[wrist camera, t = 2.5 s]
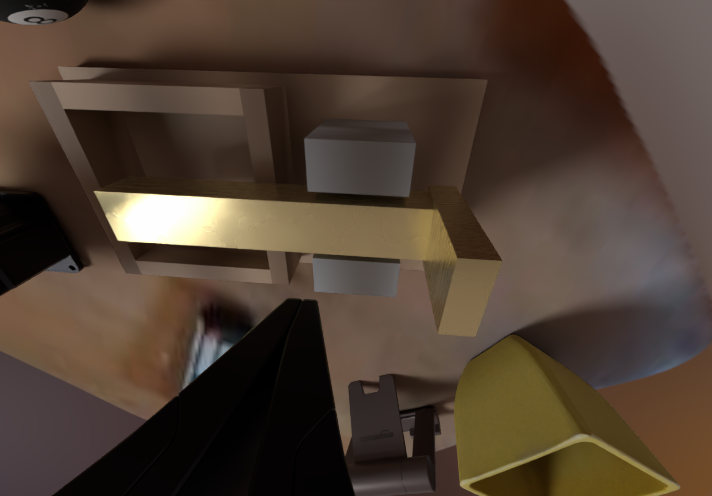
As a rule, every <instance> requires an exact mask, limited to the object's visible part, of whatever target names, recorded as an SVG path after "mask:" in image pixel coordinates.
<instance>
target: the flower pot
mask: <svg viewBox="0 0 712 496" xmlns="http://www.w3.org/2000/svg"><path fill="white" fill-rule="evenodd" d="M454 417H455V431H456V444H457V455H458V466H459V477H460V486H461V487H463V488H464V489H466V490H468V491H471V492H473V493H475V494H477V495H480V496H659V495H662V494H666V493H669V492H672V491H675V490H678V489H680V485H679V484H678V483H677V482H676V481H675V479H674V478H673V477H672V476H671V475H670V474H669V472H668V471H667V470H666V469H665V468H664V467H663V465H662V464H661V463H660V462H659V461H658V459H657V458H656V457H655V456H654V455H653V453H652V452H651V451H650V450H649V449H648V448H647V446H646V445H645V444H644V443H643V442H642V441H641V439H640V438H639V437H638V436H637V435H636V434H635V432H634V431H633V430H632V429H631V428H630V427H629V425H628V424H627V423H626V422H625V421H624V420H623V418H622V417H621V416H620V415H619V414H618V413H617V411H616V410H615V409H614V408H613V407H612V406H611V405H610V404H609V403H608V402H607V401H606V400H605V399H604V398H603V397H602V396H601V395H600V394H599V393H598V392H597V391H596V390H595V389H593V388H592V387H591V386H590V385H589V384H588V383H586V382H585V381H584V380H583V379H581V378H580V377H579V376H577V375H576V374H575V373H573V372H572V371H571V370H569V369H568V368H566V367H565V366H563V365H562V364H560V363H559V362H557V361H556V360H554V359H553V358H551V357H550V356H548V355H547V354H545V353H544V352H542V351H541V350H539V349H537V348H536V347H534V346H533V345H531V344H530V343H528V342H527V341H525V340H524V339H522V338H521V337H519V336H517V335H509V336H507V337H506V338H504V339H503V340H501V341H500V342H498V343H497V344H495V345H494V346H492V347H491V348H489V349H488V350H486V351H485V352H483V353H482V354H480V355H479V356H477V357H476V358H474V359H472V360H471V361H469V362H468V363H467V365H466V367H465V369H464V371H463V373H462V375H461V377H460V380H459V383H458V386H457V390H456V396H455V404H454Z"/></svg>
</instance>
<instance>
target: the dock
mask: <svg viewBox="0 0 712 496" xmlns="http://www.w3.org/2000/svg"><path fill="white" fill-rule="evenodd" d="M58 69H59V71H60V73H61V76H62V78H63V80H51V81H28V82H29V84H30V86H31V88H32V90H33V92H34V94H35V96H36V98H37V100H38V102H39V103H40V105H41V107H42V109H43V111H44V113H45V115H46V117H47V119H48V121H49V123H50V125H51V127H52V129H53V131H54V133H55V135H56V137H57V139H58V141H59V143H60V145H61V147H62V149H63V151H64V153H65V155H66V157H67V158H68V160H69V162H70V164H71V166H72V168H73V170H74V172H75V174H76V176H77V178H78V180H79V182H80V184H81V186H82V188H83V190H84V192H85V194H86V196H87V198H88V200H89V202H90V204H91V206H92V208H93V210H94V211H95V213H96V215H97V217H98V219H99V221H100V223H101V225H102V227H103V229H104V231H105V233H106V235H107V237H108V239H109V241H110V243H111V245H112V247H113V249H114V251H115V253H116V255H117V257H118V259H119V261H120V263H121V265H122V266H123V268H124V270H125V272H126V273H130V274H144V275H158V276H172V277H186V278H200V279H214V280H228V281H242V282H256V283H270V284H285V285H289V284H290V281H291V279H292V277H293V275H294V272H295V270H296V268H297V265H298V263H299V262H303V263H313V274H314V289H315V292H329V293H342V294H356V295H370V296H384V297H396V292H397V285H398V277H399V270H400V269H408V270H423V271H424V266H423V261H422V260H409V259H393V258H378V257H363V256H347V255H332V254H316V253H301V252H285V251H270V250H254V249H239V248H223V247H208V246H192V245H177V244H161V243H146V242H131V241H118V240H117V237H116V235H115V233H114V231H113V229H112V227H111V225H110V223H109V221H108V219H107V217H106V215H105V213H104V211H103V209H102V207H101V205H100V203H99V201H98V199H97V197H96V195H95V193H94V191H95V190H98V189H100V188H102V187H105V186H107V185H110V184H112V183H114V182H117V181H119V180H121V179H124V178H126V177H129V176H141V177H160V178H179V179H199V180H218V181H237V182H257V183H276V184H295V185H307V187H308V192H326V193H345V194H364V195H383V196H402V197H409V194H410V190H412V191H427V190H428V185H441V186H456V187H457V189H458V191H459V192H460V194H461V192H462V188H463V184H464V180H465V175H466V171H467V167H468V162H469V158H470V154H471V150H472V145H473V141H474V137H475V133H476V128H477V124H478V120H479V115H480V111H481V107H482V103H483V98H484V94H485V90H486V86H487V81H488V80H486V79H463V78H430V77H397V76H364V75H331V74H298V73H265V72H232V71H199V70H166V69H133V68H100V67H58Z"/></svg>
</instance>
